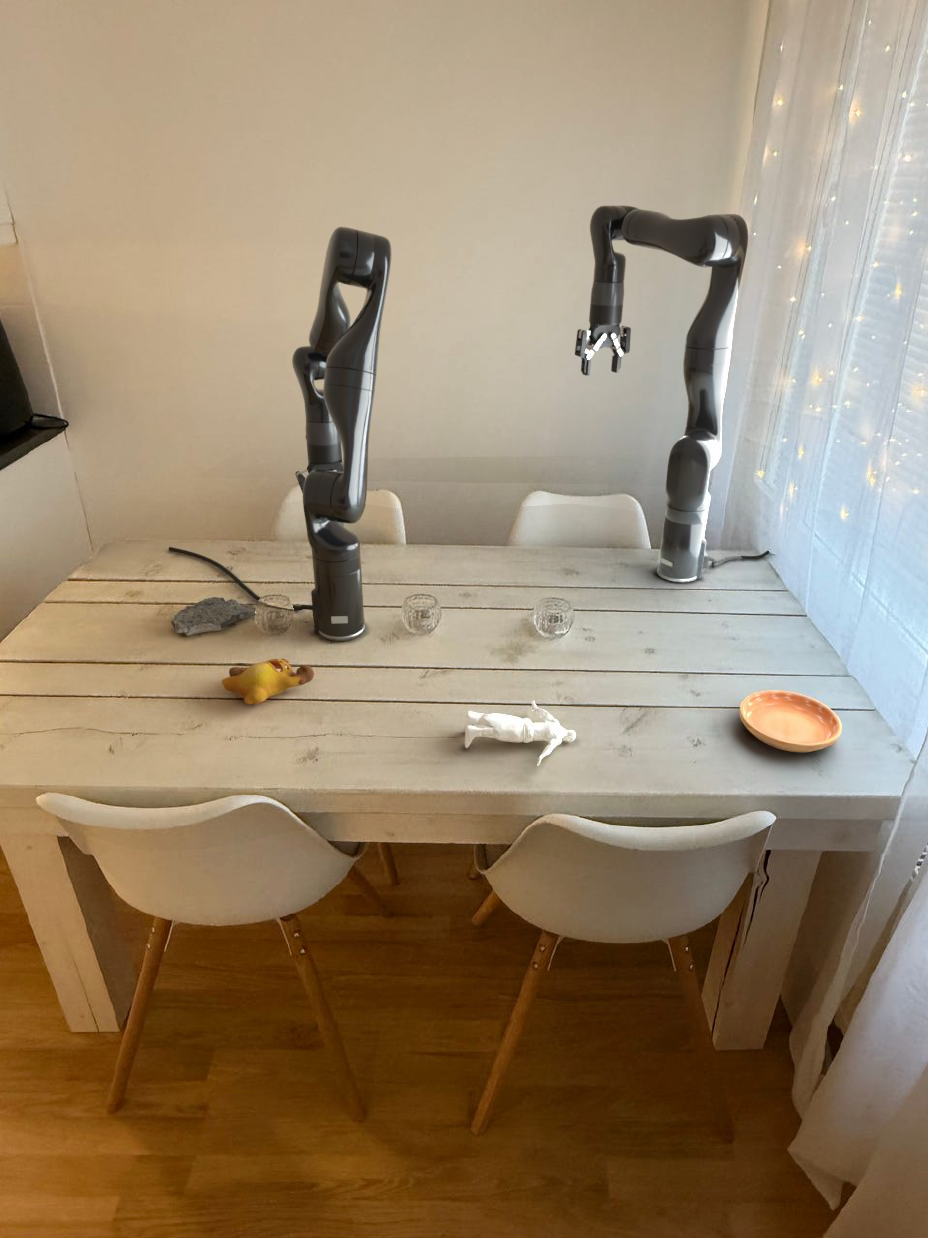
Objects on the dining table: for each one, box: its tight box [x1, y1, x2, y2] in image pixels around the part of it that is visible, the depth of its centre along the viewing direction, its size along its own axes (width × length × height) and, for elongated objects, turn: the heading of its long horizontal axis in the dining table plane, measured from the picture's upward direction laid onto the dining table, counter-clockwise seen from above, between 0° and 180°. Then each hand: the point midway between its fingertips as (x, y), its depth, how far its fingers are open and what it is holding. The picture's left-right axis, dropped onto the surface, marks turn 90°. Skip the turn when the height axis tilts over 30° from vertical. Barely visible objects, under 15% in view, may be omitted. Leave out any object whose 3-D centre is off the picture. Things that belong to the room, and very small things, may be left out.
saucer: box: [739, 689, 843, 753], centre depth 136 cm, size 16×16×3 cm
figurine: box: [464, 699, 577, 767], centre depth 133 cm, size 17×5×18 cm
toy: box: [221, 658, 315, 705], centre depth 144 cm, size 11×6×15 cm
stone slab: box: [170, 596, 256, 637], centre depth 168 cm, size 12×17×3 cm
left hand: (329, 511), depth 188 cm, fingers closed on block, 4 cm apart
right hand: (600, 373), depth 197 cm, fingers open, 8 cm apart
